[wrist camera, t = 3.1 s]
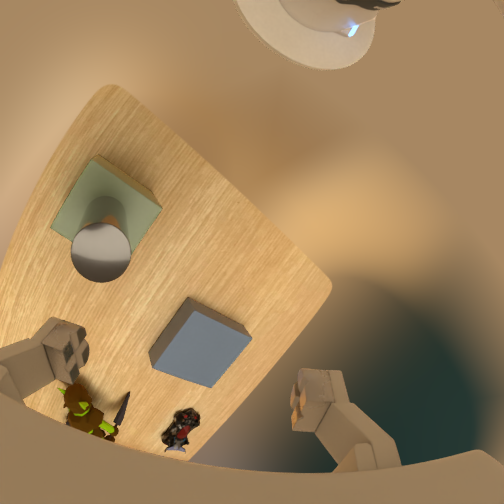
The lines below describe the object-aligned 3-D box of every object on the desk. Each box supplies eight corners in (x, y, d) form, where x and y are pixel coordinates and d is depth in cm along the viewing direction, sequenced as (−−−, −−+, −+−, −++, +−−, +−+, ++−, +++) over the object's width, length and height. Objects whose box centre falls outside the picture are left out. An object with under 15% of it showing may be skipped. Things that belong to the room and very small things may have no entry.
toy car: (157, 438, 54) (161, 453, 51) (178, 405, 53) (183, 420, 50) (181, 441, 58) (187, 455, 54) (204, 409, 56) (211, 423, 53)
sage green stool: (98, 154, 33) (91, 158, 25) (152, 192, 38) (163, 208, 30) (65, 206, 34) (49, 228, 25) (119, 241, 39) (120, 271, 30)
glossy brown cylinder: (99, 187, 26) (90, 210, 18) (134, 211, 29) (143, 243, 20) (76, 224, 26) (60, 263, 18) (111, 246, 29) (111, 293, 20)
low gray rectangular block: (187, 296, 46) (194, 310, 43) (243, 325, 52) (252, 338, 49) (148, 352, 46) (152, 368, 43) (204, 373, 53) (211, 388, 49)
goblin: (147, 413, 51) (119, 367, 43) (110, 467, 40) (69, 430, 32) (109, 394, 54) (79, 347, 47) (73, 442, 43) (32, 400, 35)
